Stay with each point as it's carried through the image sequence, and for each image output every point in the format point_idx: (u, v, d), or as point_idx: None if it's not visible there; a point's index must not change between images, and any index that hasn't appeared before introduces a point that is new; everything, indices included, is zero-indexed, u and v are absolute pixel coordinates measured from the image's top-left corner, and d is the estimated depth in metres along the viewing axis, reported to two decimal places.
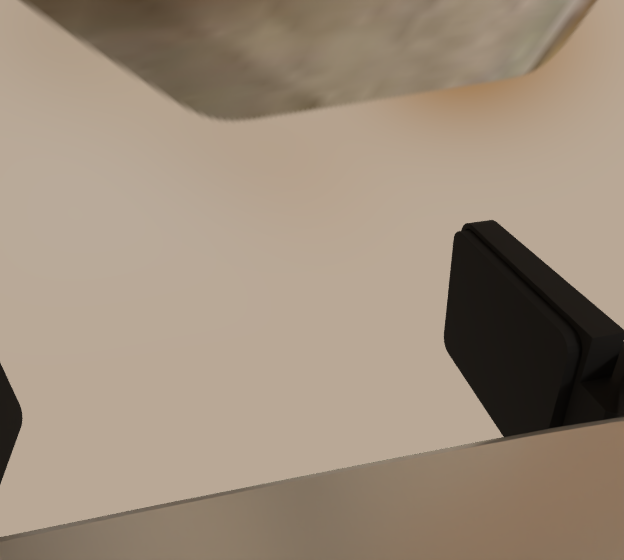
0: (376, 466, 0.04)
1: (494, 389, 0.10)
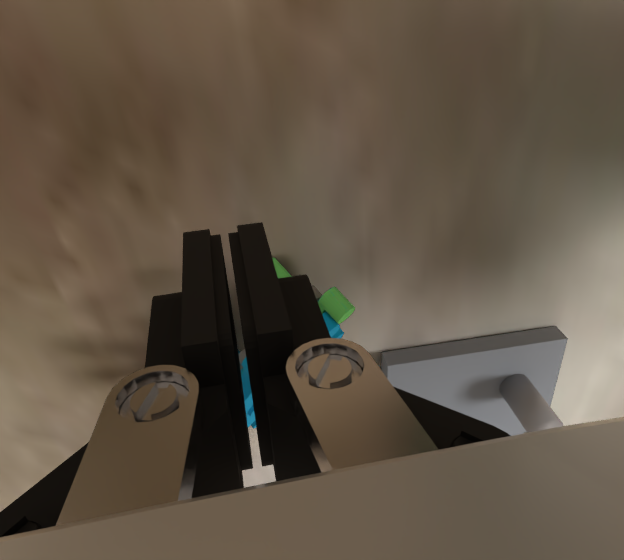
0: (376, 466, 0.04)
1: None
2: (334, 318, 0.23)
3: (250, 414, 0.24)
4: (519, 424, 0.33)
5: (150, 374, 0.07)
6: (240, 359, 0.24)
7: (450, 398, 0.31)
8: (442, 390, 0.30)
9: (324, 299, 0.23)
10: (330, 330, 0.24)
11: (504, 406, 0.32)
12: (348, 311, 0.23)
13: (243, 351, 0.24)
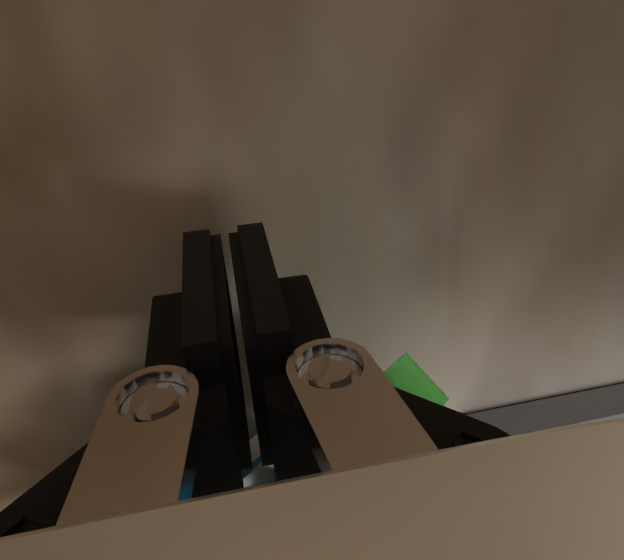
0: (376, 466, 0.04)
1: None
2: None
3: None
4: None
5: (150, 374, 0.07)
6: None
7: None
8: None
9: None
10: None
11: None
12: None
13: None
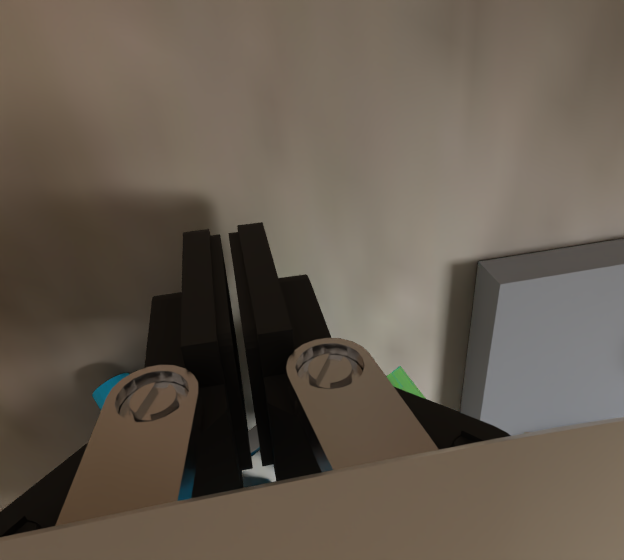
0: (376, 466, 0.04)
1: None
2: None
3: None
4: None
5: (150, 374, 0.07)
6: None
7: (609, 356, 0.15)
8: (597, 340, 0.15)
9: None
10: None
11: None
12: None
13: None
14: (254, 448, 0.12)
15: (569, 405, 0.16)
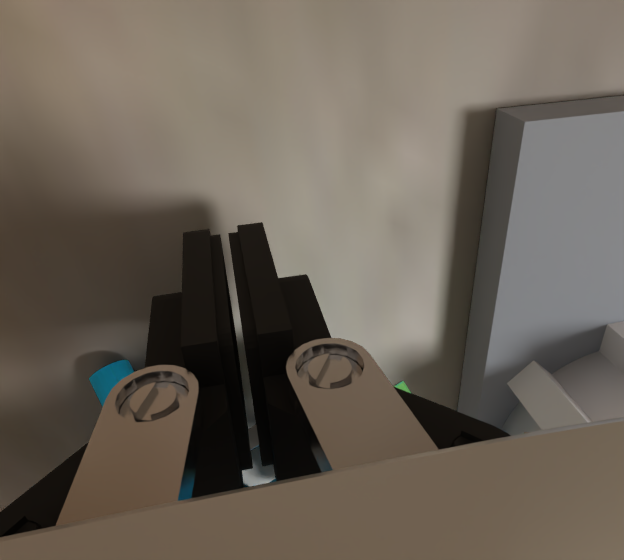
0: (376, 466, 0.04)
1: None
2: None
3: None
4: None
5: (150, 374, 0.07)
6: None
7: None
8: None
9: None
10: None
11: None
12: None
13: None
14: (252, 447, 0.12)
15: (597, 297, 0.14)
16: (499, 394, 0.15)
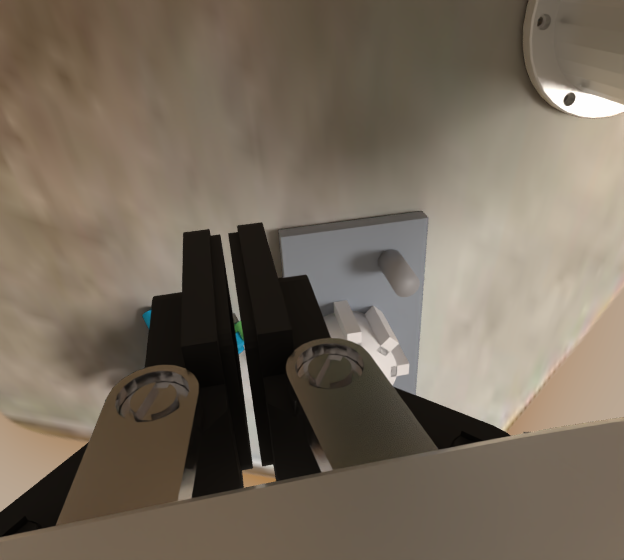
0: (376, 466, 0.04)
1: None
2: (242, 337, 0.36)
3: None
4: (399, 298, 0.40)
5: (150, 374, 0.07)
6: None
7: (337, 270, 0.38)
8: (329, 262, 0.37)
9: (240, 324, 0.36)
10: (238, 344, 0.36)
11: (384, 279, 0.39)
12: None
13: None
14: None
15: (325, 292, 0.39)
16: None
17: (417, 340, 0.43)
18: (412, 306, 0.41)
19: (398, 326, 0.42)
